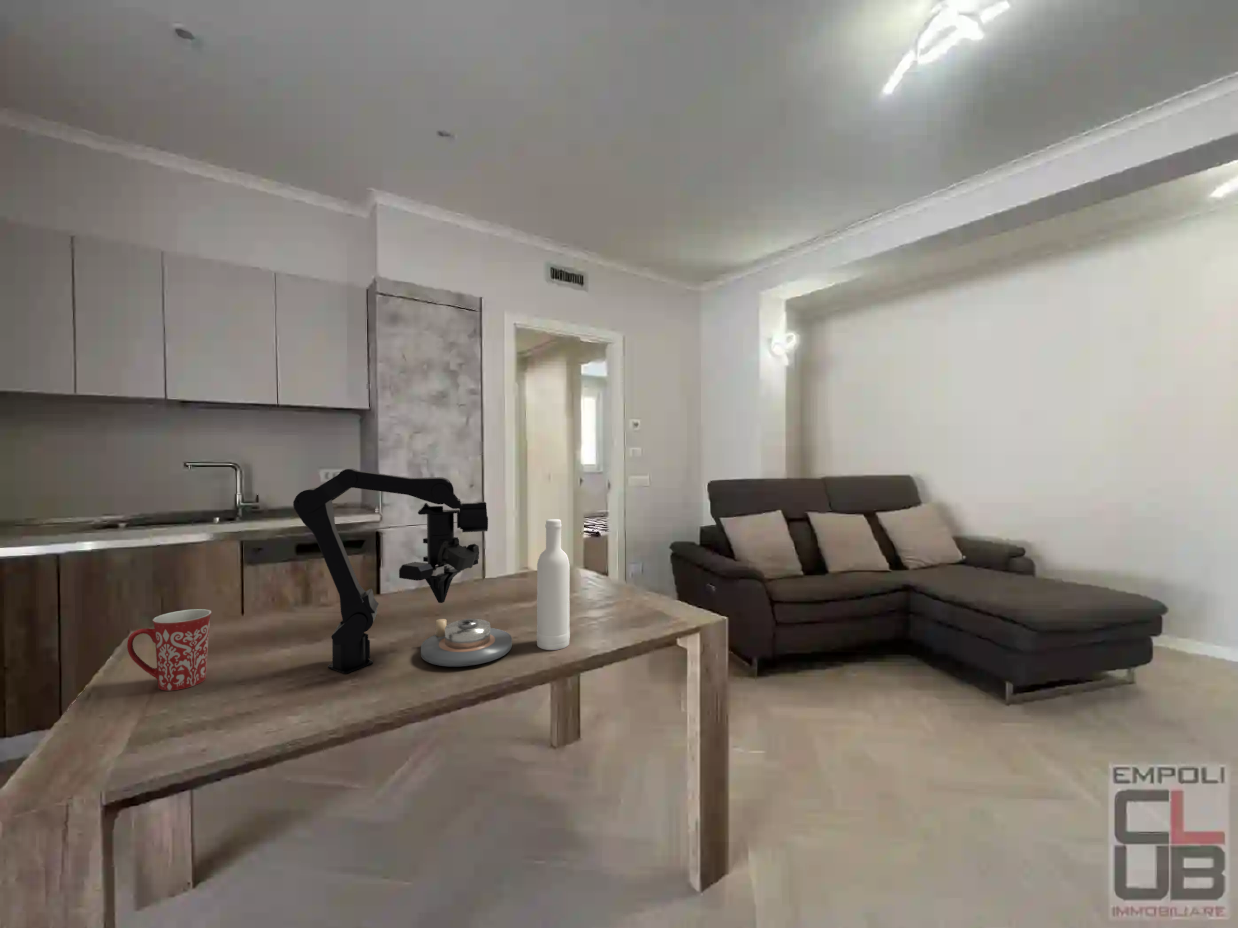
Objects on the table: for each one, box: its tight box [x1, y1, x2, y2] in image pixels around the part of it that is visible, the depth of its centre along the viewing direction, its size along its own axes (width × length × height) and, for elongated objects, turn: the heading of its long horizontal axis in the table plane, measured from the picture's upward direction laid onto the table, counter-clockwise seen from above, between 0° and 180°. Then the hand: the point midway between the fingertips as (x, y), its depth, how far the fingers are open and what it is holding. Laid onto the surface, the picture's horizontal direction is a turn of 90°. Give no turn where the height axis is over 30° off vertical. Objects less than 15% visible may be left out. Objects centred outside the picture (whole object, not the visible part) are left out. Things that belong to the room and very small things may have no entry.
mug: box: [126, 608, 212, 692], centre depth 103 cm, size 13×9×14 cm
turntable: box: [420, 618, 513, 667], centre depth 120 cm, size 20×20×5 cm
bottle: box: [536, 518, 571, 651], centre depth 125 cm, size 8×8×30 cm
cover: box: [445, 618, 491, 649], centre depth 120 cm, size 10×10×5 cm
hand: (441, 602), depth 118 cm, fingers closed
